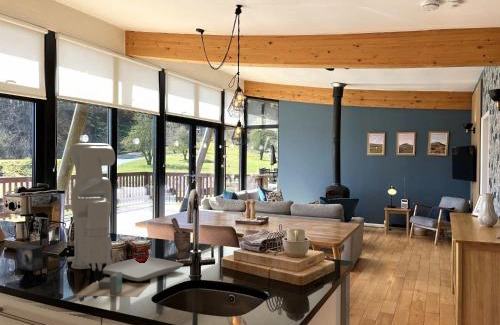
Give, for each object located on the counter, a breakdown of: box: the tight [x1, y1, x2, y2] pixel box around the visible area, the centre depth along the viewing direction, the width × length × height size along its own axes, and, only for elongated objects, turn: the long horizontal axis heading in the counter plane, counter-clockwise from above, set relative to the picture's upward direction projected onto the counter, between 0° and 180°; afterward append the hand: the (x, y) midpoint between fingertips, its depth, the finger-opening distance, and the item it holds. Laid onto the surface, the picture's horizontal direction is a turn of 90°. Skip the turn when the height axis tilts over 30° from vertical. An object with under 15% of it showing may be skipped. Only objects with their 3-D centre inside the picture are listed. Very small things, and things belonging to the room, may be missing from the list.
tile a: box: [98, 277, 110, 288], centre depth 167 cm, size 2×6×7 cm
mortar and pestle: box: [170, 217, 192, 260], centre depth 216 cm, size 12×9×20 cm
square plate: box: [103, 256, 185, 282], centre depth 186 cm, size 27×27×4 cm
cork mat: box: [74, 281, 152, 298], centre depth 163 cm, size 24×16×1 cm, turn 86°
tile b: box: [109, 272, 123, 295], centre depth 159 cm, size 2×6×7 cm, turn 176°
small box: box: [15, 244, 44, 272], centre depth 195 cm, size 11×6×10 cm, turn 68°
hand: (98, 280), depth 160 cm, fingers closed
